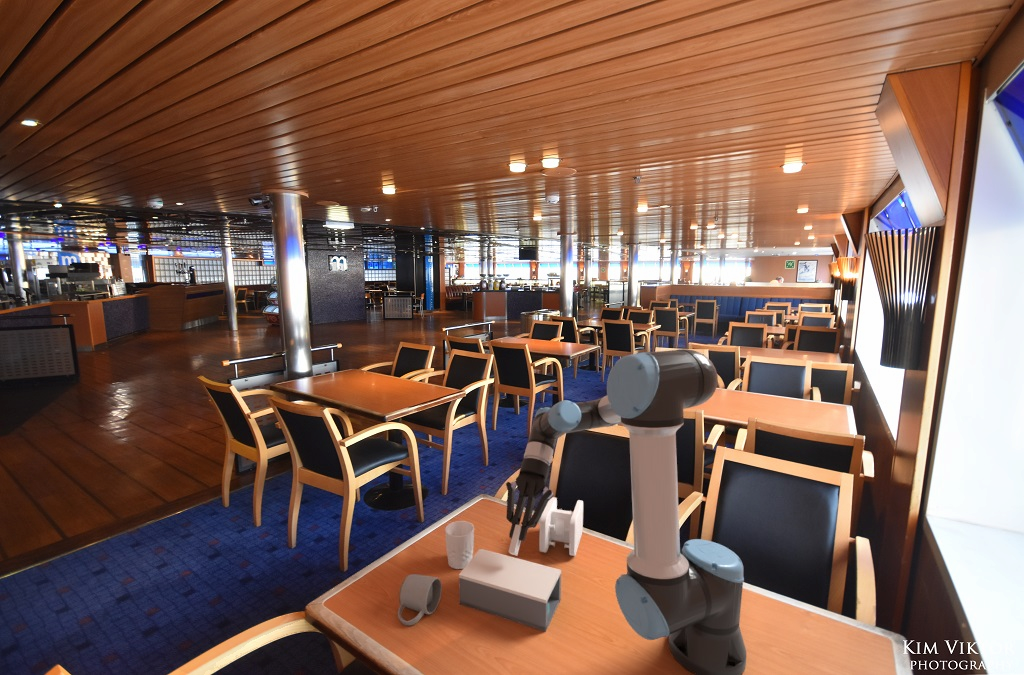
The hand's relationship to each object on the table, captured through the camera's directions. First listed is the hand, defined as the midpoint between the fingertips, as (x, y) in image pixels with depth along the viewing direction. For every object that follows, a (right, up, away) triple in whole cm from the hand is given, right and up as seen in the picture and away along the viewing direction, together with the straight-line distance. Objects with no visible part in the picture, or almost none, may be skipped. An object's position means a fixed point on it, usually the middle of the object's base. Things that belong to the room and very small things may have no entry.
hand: (512, 553), depth 115 cm
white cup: (-14, -10, +15) cm, 23 cm away
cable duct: (-1, -12, 0) cm, 12 cm away
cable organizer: (+14, -8, +24) cm, 29 cm away
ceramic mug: (-22, -12, -3) cm, 26 cm away
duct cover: (-1, -5, -1) cm, 5 cm away
